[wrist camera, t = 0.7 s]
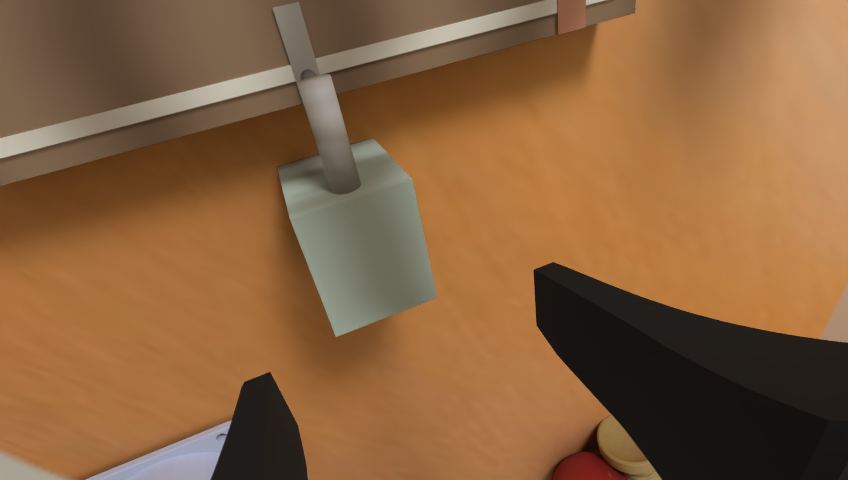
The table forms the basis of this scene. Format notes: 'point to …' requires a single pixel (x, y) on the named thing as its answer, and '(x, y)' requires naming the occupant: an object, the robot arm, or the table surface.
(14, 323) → the table surface
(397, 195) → the grey block with peg
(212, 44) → the walnut plank
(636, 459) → the kendama
